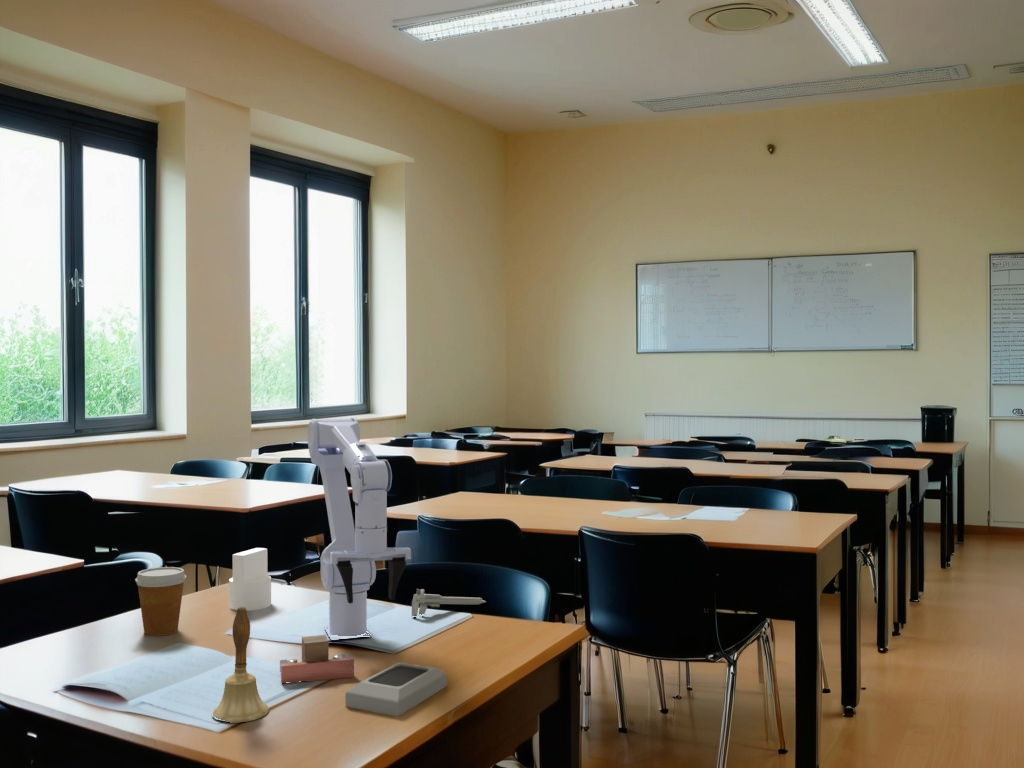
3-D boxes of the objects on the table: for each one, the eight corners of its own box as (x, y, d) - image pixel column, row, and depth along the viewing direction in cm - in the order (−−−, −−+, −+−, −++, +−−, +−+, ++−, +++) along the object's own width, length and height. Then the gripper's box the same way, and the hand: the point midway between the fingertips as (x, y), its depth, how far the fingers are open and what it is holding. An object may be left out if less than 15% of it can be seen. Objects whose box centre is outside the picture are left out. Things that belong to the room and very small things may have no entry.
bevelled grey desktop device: (345, 685, 143) (397, 658, 156) (345, 709, 143) (397, 680, 157) (398, 694, 139) (446, 666, 152) (397, 719, 139) (446, 688, 152)
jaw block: (301, 671, 160) (301, 636, 160) (325, 669, 161) (325, 634, 161) (304, 678, 156) (304, 643, 156) (328, 676, 157) (328, 641, 157)
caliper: (414, 620, 194) (414, 590, 194) (411, 619, 195) (411, 589, 195) (486, 603, 208) (486, 575, 208) (482, 602, 209) (482, 575, 209)
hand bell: (219, 704, 144) (218, 602, 144) (273, 702, 144) (273, 601, 144) (205, 724, 135) (205, 616, 135) (263, 722, 136) (263, 615, 136)
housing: (278, 671, 159) (278, 654, 159) (347, 665, 163) (347, 648, 163) (281, 684, 153) (281, 666, 153) (354, 676, 157) (354, 659, 157)
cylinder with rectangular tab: (254, 612, 199) (254, 556, 199) (220, 608, 202) (220, 553, 202) (279, 602, 208) (279, 549, 207) (246, 599, 211) (246, 546, 211)
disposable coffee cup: (124, 635, 181) (124, 574, 181) (159, 623, 190) (159, 565, 190) (162, 640, 178) (162, 578, 178) (196, 628, 187) (196, 568, 186)
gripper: (334, 532, 163) (334, 608, 163) (414, 527, 168) (414, 602, 168) (328, 525, 170) (328, 599, 170) (406, 522, 174) (406, 593, 175)
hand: (370, 600), depth 169 cm, fingers open, 7 cm apart
